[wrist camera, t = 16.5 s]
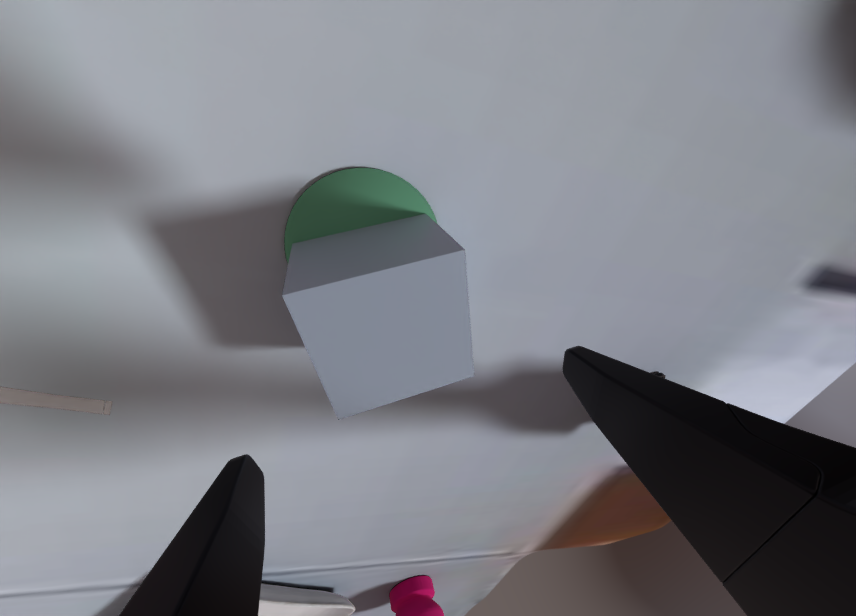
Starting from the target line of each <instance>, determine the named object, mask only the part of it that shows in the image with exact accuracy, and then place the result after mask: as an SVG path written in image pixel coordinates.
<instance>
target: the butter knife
mask: <svg viewBox="0 0 856 616" xmlns="http://www.w3.org/2000/svg"><path fill="white" fill-rule="evenodd" d="M0 403H3V404H14V405H25V406H36V407H47V408H57V409H65V410H73V411H81V412H89V413H98V414H102V413H103V408H104V403H105V401H104V400H95V399H87V398H78V397H70V396H61V395H53V394H46V393H39V392H32V391H26V390H19V389H12V388H5V387H0ZM111 406H112V401H106V403H105V408H104V413H103V414H106V415H110V410H111Z"/></svg>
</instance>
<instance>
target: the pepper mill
mask: <svg viewBox="0 0 856 616" xmlns="http://www.w3.org/2000/svg"><path fill="white" fill-rule="evenodd" d="M434 594H435V592H434V588H433V584H432V580H431V578H430V577H429V576H416V577H412V578H409V579H407V580H404V581H403V582H401V583H399V584H398V585H396V586H395V587H394V588H393V589H392V590H391V592H390V594H389V597H390V603H391V610H392V611H393V612H395V613H396V616H444V613H443V611H442V609H441V607H440V606H439V605H438V604H437V603H436V602H435V601H433V600H432V598H433V596H434Z"/></svg>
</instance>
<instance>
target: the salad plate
mask: <svg viewBox="0 0 856 616" xmlns="http://www.w3.org/2000/svg"><path fill="white" fill-rule="evenodd" d="M354 611H355V607H354V605H353V604H352V603H351V602H350V601H349V600H348V599H347V598H345V597H343V596H341V595H338V594H335V593H331V592H327V591H321V590H311V589H302V588H294V587H286V586H280V585H271V584H263V583H261V591H260V601H259V611H258V616H350V615H351V614H352V613H353V612H354Z"/></svg>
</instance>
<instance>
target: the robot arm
mask: <svg viewBox="0 0 856 616" xmlns="http://www.w3.org/2000/svg"><path fill="white" fill-rule="evenodd" d="M563 374H564V376H565V378H566V380H567V381H568V383H569V384H570V386H571V387H572V389H573V391H574V392H575V394H576V395H577V397H578V398H579V400H580V401H581V403H582V405H583V406H584V408H585V409H586V411H587V412H588V414H589V415H590V417H591V418H592V420H593V421H594V422H595V424H596V425H597V426H598V428H599V429H600V430H601V432H602V433H603V434H604V435H605V437H606V438H607V439H608V440H609V442H610V443H611V444H612V445H613V447H614V448H615V449H616V450H617V452H618V453H619V454H620V456H621V457H622V458H623V459H624V461H625V462H626V463H627V464H628V466H629V467H630V468H631V469H632V471H633V472H634V473H635V474H636V476H637V477H638V478H639V480H640V481H641V482H642V483H643V485H644V486H645V487H646V488H647V490H648V491H649V492H650V493H651V495H652V496H653V497H654V498H655V500H656V501H657V502H658V503H659V505H660V506H661V507H662V509H663V510H664V511H665V512H666V514H667V515H668V516H669V517H670V519H671V520H672V521H673V522H674V524H675V525H676V526H677V527H678V529H679V530H680V531H681V533H682V534H683V535H684V536H685V537H686V539H687V540H688V541H689V543H690V544H691V545H692V546H693V548H694V549H695V550H696V551H697V553H698V554H699V555H700V557H701V558H702V559H703V560H704V562H705V563H706V564H707V565H708V567H709V568H710V569H711V570H712V572H713V573H714V574H715V575H716V577H717V578H718V579H719V580H720V582H722V583H723V586H724V587H725V588H726V590H727V591H728V592H729V593H730V595H731V596H732V597H733V598H734V600H735V601H736V602H737V603H738V605H739V606H740V607H741V609H742V610H743V611H744V612H745V614H746V615H747V616H856V448H854V447H851V446H848V445H845V444H842V443H839V442H836V441H833V440H830V439H827V438H824V437H821V436H818V435H815V434H812V433H809V432H806V431H803V430H800V429H797V428H794V427H791V426H788V425H786V424H783V423H780V422H777V421H774V420H771V419H769V418H766V417H763V416H761V415H758V414H755V413H752V412H750V411H747V410H745V409H742V408H739V407H737V406H734V405H732V404H729V403H727V404H726V403H725V402H724V401H721V400H718V399H716V398H713V397H711V396H708V395H706V394H703V393H700V392H698V391H695V390H693V389H690V388H687V387H685V386H682V385H680V384H677V383H675V382H672V381H669V380H667V379H665V375H664V374H662V373H658V374H655V375H654V374H651V373H649V372H646V371H644V370H641V369H638V368H636V367H633V366H631V365H628V364H626V363H623V362H620V361H618V360H615V359H613V358H610V357H607V356H605V355H602V354H600V353H597V352H595V351H592V350H589V349H587V348H584V347H581V346H576V347H572V348H569V349H567V350H566V351H565V354H564V362H563ZM264 547H265V496H264V475H263V472H262V471H261V469H260V468H259V467H258V465H257V464H256V463H255V461H254V460H253V459H252V457H251V456H250V455H247V454H246V455H242V456H239V457H236V458H233V459H231V460H230V461H229V462H228V463H227V464H226V465H225V467H224V468H223V469H222V471H221V472H220V474H219V475H218V477H217V478H216V479H215V481H214V482H213V484H212V485H211V486H210V488H209V489H208V491H207V492H206V493H205V495H204V496H203V498H202V499H201V500H200V502H199V503H198V505H197V506H196V508H195V509H194V510H193V512H192V513H191V515H190V516H189V517H188V519H187V520H186V522H185V523H184V524H183V526H182V527H181V529H180V530H179V532H178V533H177V534H176V536H175V537H174V539H173V540H172V541H171V543H170V544H169V546H168V547H167V548H166V550H165V551H164V553H163V554H162V556H161V557H160V558H159V560H158V561H157V563H156V564H155V565H154V567H153V568H152V570H151V571H150V572H149V574H148V575H147V577H146V578H145V579H144V581H143V582H142V584H141V585H140V587H139V588H138V589H137V591H136V592H135V594H134V595H133V596H132V598H131V599H130V601H129V602H128V603H127V605H126V606H125V608H124V609H123V611H122V612H121V613H120V615H119V616H258V611H259V601H260V591H261V580H262V570H263V560H264Z"/></svg>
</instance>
